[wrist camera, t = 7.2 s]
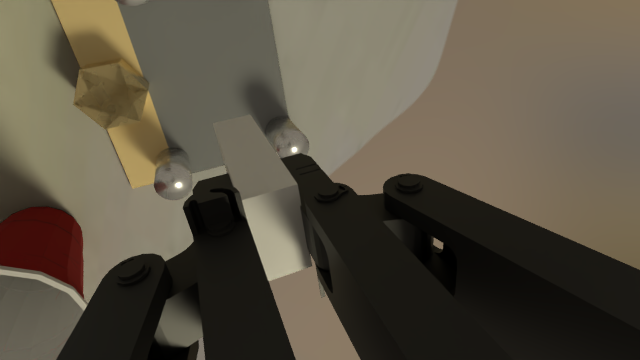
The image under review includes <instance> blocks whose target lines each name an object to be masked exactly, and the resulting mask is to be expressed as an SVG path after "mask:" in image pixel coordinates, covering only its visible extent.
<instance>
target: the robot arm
mask: <svg viewBox="0 0 640 360" xmlns="http://www.w3.org/2000/svg"><path fill="white" fill-rule="evenodd" d="M213 125H214V128H215V132H216V136H217V139H218V143H219V146H220V150H221V153H222V157H223V161H224V164H225V168H226V171H227V174H224V175H220V176H216V177H213V178H209V179H205V180H201V181H198V183H197V184H196V186H195V187H194V189H193V195H192V196H190V197H189V198H188V199H187V200H186V201H185V203H184V206H183V210H184V212H185V215H186V218H187V221H188V223H189V226H190V229H191V232H192V234H193V239H194V242H193V243H192V244H191V245H190V246H189V247H188V248H187V249H186V250H184V251H183V252H182V253H180V254H178V255H177V256H175V257H173V258H171V259H169V260H167V261H164V259H163V258H162V257H161V256H159V255H156V254H141V255H138V256H134V257H131V258H128V259H127V260H124V261H122V262H120V263H119V264H118V265H116V266H115V267H114V268H112V269H111V270H110V271H109V272H108V273H107V274H106V275H105V277H104V278H103V279H102V281H101V282H100V284H99V286H98V288H97V289H96V291H95V293H94V295H93V296H92V298H91V300H90V302H89V303H88V305H87V307H86V308H85V310H84V312H83V314H82V315H81V317H80V319H79V321H78V322H77V324H76V326H75V328H74V329H73V331H72V333H71V335H70V336H69V338H68V340H67V341H66V343H65V345H64V347H63V348H62V350H61V352H60V354H59V355H58V357H57V359H56V360H196V358H197V353H198V349H199V343H198V342H199V341H198V340H199V339H200V338H202V337H203V341H204V351H205V360H296V359H295V357H294V354H293V351H292V348H291V345H290V342H289V339H288V336H287V334H286V330H285V328H284V325H283V322H282V319H281V316H280V313H279V311H278V308H277V305H276V302H275V299H274V296H273V293H272V290H271V288H270V284H269V282H268V281H271V280H274V279H276V278H279V277H282V276H285V275H288V274H291V273H294V272H297V271H299V270H302V269H305V268H308V267H311V266H312V263H311V257H310V254H311V256H312V258H313V259H314V261H315V264H316V270H317V276H318V282H319V287H320V293H321V297H325V292H326V294H327V296H328V298H329V300H330V301H331V303H332V305H333V307H334V309H335V311H336V313H337V315H338V317H339V319H340V321H341V323H342V325H343V327H344V328H345V330H346V332H347V334H348V336H349V338H350V340H351V342H352V344H353V346H354V348H355V350H356V352H357V353H358V355H359V357H360V359H361V360H640V270H639V269H636V268H634V267H631V266H630V265H627V264H625V263H623V262H620V261H618V260H616V259H613V258H611V257H609V256H606V255H604V254H602V253H600V252H597V251H595V250H593V249H591V248H588V247H586V246H584V245H581V244H579V243H577V242H574V241H572V240H570V239H568V238H565V237H563V236H561V235H558V234H556V233H554V232H551V231H549V230H547V229H545V228H542V227H540V226H538V225H535V224H533V223H531V222H528V221H526V220H524V219H522V218H519V217H517V216H515V215H512V214H510V213H508V212H506V211H503V210H501V209H499V208H496V207H494V206H492V205H489V204H487V203H485V202H483V201H480V200H477V199H476V198H473V197H471V196H469V195H467V194H464V193H462V192H460V191H457V190H455V189H453V188H450V187H448V186H446V185H443V184H441V183H439V182H437V181H434V180H432V179H430V178H427V177H425V176H421V175H417V174H409V173H408V174H400V175H398V176H394V177H391V178H390V179H388V180H387V181H386V182H385V183H384V186H383V193H382V194H373V195H357V194H356V193H355V192H354V191H353V189H352V188H350V187H349V186H347V185H345V184H340V183H333V182H332V180H331V179H330V178H329V177H328V176H327V175H326V174H325V172H324V171H323V170H321V168H320V167H319V166H318V164H316V162H315V161H314V160H313V159H312V158H311V157H310V156H307V155H304V154H302V153H299V154H295V155H291V156H287V157H284V158H279V156H278V155H277V153H276V152H275V150H274V149H273V147H272V146H271V144H270V143H269V141H268V140H267V138H266V137H265V136H264V134H263V133H262V131H261V130H260V128H259V127H258V125H257V124H256V122H255V121H254V119H253V118H252V116H251V115H247V116H242V117H238V118H234V119H229V120H225V121H221V122H216V123H213ZM433 238H436V239H438V240H439V241H441V242H443V250H442V249H439V248H437V247H435V246H434V245H433ZM324 290H325V292H324Z"/></svg>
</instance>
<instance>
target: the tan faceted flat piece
mask: <svg viewBox="0 0 640 360" xmlns="http://www.w3.org/2000/svg"><path fill="white" fill-rule="evenodd" d="M149 85H150V83H149V82H148V81H147V80H146V79H145V78H144V77H143V76H142V75H140V74H139V73H138V72H137V71H136V70H135V69H134V68H133V67H132V66H131V65H130V64H129V63H127V62H126V61H125V60H124V59H123V58H120V59H114V60H108V61H103V62H97V63H91V64H86V65H85V66H84V67H82V68H81V69H80V70H79V74H78V80H77V86H76V92H75V98H74V104H73V105H75V106H76V107H77V108H78V109H80V110H81V111H82V112H84V113H85V114H86V115H87V116H89V117H90V118H91V119H92V120H94V121H95V122H96V123H98V124H99V125H100V126H101V127H103V128H104V129H109V128H113V127H118V126H123V125H127V124H132V123H136V122H141V118H142V115H143V111H144V107H145V102H146V98H147V94H148V89H149Z"/></svg>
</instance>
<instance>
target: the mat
mask: <svg viewBox="0 0 640 360" xmlns="http://www.w3.org/2000/svg"><path fill="white" fill-rule="evenodd" d="M51 1H52V3H53V5H54V8H55V10H56V12H57V15H58V17H59V19H60V22H61V24H62V26H63V29H64V31H65V33H66V35H67V38H68V40H69V42H70V45H71V47H72V49H73V52H74V54H75V56H76V59H77V61H78V63H79V66H80V68H82V67H84V66H85V65H86V64H91V63H97V62H103V61H108V60H114V59H120V58H123V59H124V60H125V61H126V62H127V63H129V64H130V65H131V66H132V67H133V68H134V69H135V70H136V71H137V72H138V73H139V74H140V75H142V76H143V77H144V78H145V79H146V80H147V81H148V82H149V83H150V85H149V89H148V94H147V98H146V102H145V107H144V111H143V115H142V118H141V122H136V123H132V124H127V125H123V126H118V127H113V128H109V129H107V131H108V133H109V135H110V137H111V140H112V142H113V144H114V147H115V149H116V151H117V154H118V156H119V158H120V161H121V163H122V165H123V168H124V170H125V172H126V175H127V177H128V179H129V182H130V184H131V186H132V189H133V188H137V187H141V186H145V185H149V184H153V183H154V179H155V170H156V161H157V157H158V155H159V153H160V152H161V151H163V150H164V149H166V148H171V147H175V148H180V149H182V150H184V151H185V152H186V153H187V154H188V156H189V158H190V164H191V174H192V173H196V172H199V171H203V170H207V169H211V168H215V167H219V166H223V165H225V164H224V161H223V157H222V153H221V150H220V146H219V143H218V139H217V136H216V132H215V128H214V125H213V123H216V122H221V121H225V120H229V119H234V118H238V117H242V116H247V115H251V116H252V118H253V119H254V121H255V122H256V124H257V125H258V127H259V128H260V130H261V131H262V133H263V134H264V136H265V137H266V138H267V136H266V127H267V124H268V123H269V122H270V121H271V120H272V119H273V118H275V117H279V116H282V117H286V118H288V113H287V107H286V101H285V95H284V90H283V84H282V78H281V72H280V67H279V61H278V55H277V49H276V44H275V38H274V32H273V26H272V21H271V15H270V9H269V3H268V0H150V1H148V2H147V3H145V4H142V5H137V6H126V5H122V4H120V3H118V2H116V1H115V0H51ZM288 119H289V118H288ZM267 140H268V138H267ZM268 141H269V140H268ZM269 143H270V141H269ZM270 144H271V143H270ZM271 146H272V144H271ZM272 147H273V146H272ZM273 149H274V147H273ZM274 150H275V149H274ZM275 152H276V150H275Z"/></svg>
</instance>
